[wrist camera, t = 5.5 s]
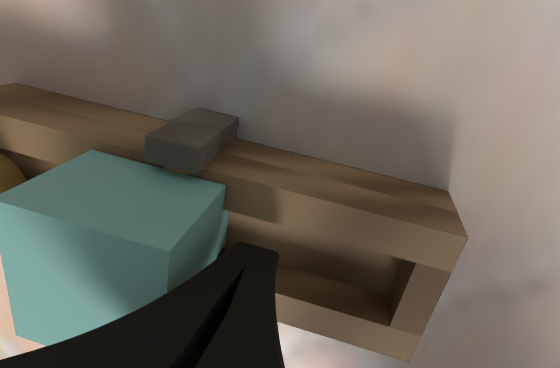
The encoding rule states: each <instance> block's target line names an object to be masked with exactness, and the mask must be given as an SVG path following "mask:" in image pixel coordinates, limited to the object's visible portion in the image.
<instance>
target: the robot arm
mask: <svg viewBox="0 0 560 368" xmlns="http://www.w3.org/2000/svg"><path fill="white" fill-rule="evenodd" d="M279 259H280V255H279V254H278V252H277V251H273V250H270V249H266V248H262V247H259V246H255V245H252V244H248V243H245V242H241V241H239V242H237V243H235V244H234V245H233V246H232V247H231V248H230V249H228V250H227V251H226V252H225V253H223V254H222V255H221V256H220V257H218V258H217V259H216V260H214V261H213V262H212V263H211V264H209V265H208V266H206V267H205V268H204V269H202V270H201V271H199V272H198V273H197V274H195V275H194V276H193V277H191V278H190V279H188V280H187V281H185V282H183V283H182V284H180V285H179V286H177V287H176V288H174V289H172V290H171V291H169V292H168V293H166V294H164V295H163V296H161V297H159V298H157V299H156V300H154V301H152V302H150V303H148V304H147V305H145V306H143V307H141V308H139V309H137V310H135V311H133V312H131V313H129V314H127V315H125V316H123V317H120V318H118V319H116V320H114V321H112V322H109V323H107V324H105V325H103V326H100V327H98V328H96V329H93V330H91V331H88V332H86V333H83V334H80V335H78V336H75V337H72V338H70V339H67V340H64V341H61V342H58V343H55V344H52V345H49V346H46V347H43V348H40V349H37V350H34V351H30V352H27V353H23V354H20V355H16V356H13V357H9V358H6V359H2V360H0V368H285V366H284V361H283V356H282V351H281V346H280V340H279V333H278V325H277V316H276V300H275V279H276V272H277V268H278V263H279Z"/></svg>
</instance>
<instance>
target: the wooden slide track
mask: <svg viewBox="0 0 560 368" xmlns="http://www.w3.org/2000/svg"><path fill="white" fill-rule="evenodd" d="M237 125H238V117H234V116H230V115H226V114H222V113H217V112H213V111H209V110H205V109H201V108H195V109H193V110H191V111H189V112H187V113H186V114H184V115H182V116H180V117H178V118H176V119H174V120H173V121H171V122H168V121H164V120H160V119H156V118H152V117H148V116H144V115H140V114H136V113H132V112H128V111H124V110H120V109H116V108H112V107H108V106H104V105H100V104H96V103H92V102H88V101H84V100H80V99H76V98H72V97H68V96H64V95H60V94H56V93H52V92H48V91H44V90H40V89H36V88H32V87H28V86H24V85H20V84H16V83H12V84H7V85H1V86H0V194H2V193H4V192H6V191H8V190H10V189H12V188H14V187H16V186H18V185H20V184H22V183H24V182H26V181H28V180H30V179H33V178H35V177H37V176H39V175H41V174H43V173H45V172H47V171H49V170H51V169H53V168H55V167H57V166H59V165H61V164H63V163H65V162H67V161H69V160H71V159H74V158H76V157H78V156H80V155H82V154H84V153H86V152H88V151H90V150H96V151H99V152H103V153H107V154H111V155H114V156H118V157H122V158H126V159H129V160H133V161H137V162H141V163H144V164H148V165H152V166H155V167H159V168H163V169H167V170H170V171H174V172H178V173H182V174H185V175H189V176H193V177H197V178H200V179H204V180H208V181H212V182H215V183H219V184H223V185H226V189H225V197H224V205H223V210H227V211H230V213H229V220H228V227H227V234H226V242H225V245H224V247H223V248H222V250H221V251H220V253H219V254H218V256H217V258H218V257H220V256H221V255H222V254H223V253H225V252H226V251H227V250H228V249H230V248H231V247H232V246H233V245H234V244H235V243H237V242H239V241H241V242H245V243H248V244H252V245H255V246H259V247H262V248H266V249H270V250H273V251H277V252H278V254H279V255H280V259H279V263H278V268H277V272H276V279H275V300H276V316H277V322H280V323H284V324H287V325H290V326H293V327H297V328H300V329H303V330H306V331H310V332H313V333H316V334H319V335H323V336H326V337H329V338H332V339H336V340H339V341H342V342H345V343H348V344H352V345H355V346H358V347H361V348H365V349H368V350H371V351H374V352H378V353H381V354H384V355H387V356H391V357H394V358H397V359H400V360H404V361H407V362H409V360H410V358H411V356H412V354H413V352H414V350H415V348H416V345H417V343H418V341H419V339H420V337H421V335H422V333H423V331H424V329H425V327H426V325H427V323H428V321H429V318H430V316H431V314H432V312H433V310H434V308H435V306H436V304H437V302H438V300H439V298H440V296H441V293H442V291H443V289H444V287H445V285H446V283H447V281H448V279H449V277H450V275H451V273H452V271H453V269H454V266H455V264H456V262H457V260H458V258H459V256H460V254H461V252H462V250H463V248H464V246H465V244H466V242H467V239H468V237H467V234H466V232H465V230H464V227H463V225H462V222H461V220H460V218H459V215H458V213H457V211H456V208H455V206H454V203H453V201H452V199H451V196H450V194H449V192H447V191H444V190H440V189H436V188H432V187H428V186H424V185H420V184H416V183H412V182H408V181H404V180H400V179H396V178H392V177H388V176H384V175H380V174H376V173H372V172H368V171H364V170H360V169H356V168H352V167H348V166H344V165H340V164H336V163H332V162H328V161H324V160H320V159H316V158H312V157H308V156H304V155H300V154H296V153H292V152H288V151H284V150H280V149H276V148H272V147H268V146H264V145H260V144H256V143H252V142H248V141H244V140H240V139H236V133H237Z"/></svg>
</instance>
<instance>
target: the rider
mask: <svg viewBox="0 0 560 368" xmlns="http://www.w3.org/2000/svg"><path fill="white" fill-rule="evenodd" d="M225 189H226V185H223V184H219V183H215V182H212V181H208V180H204V179H200V178H197V177H193V176H189V175H185V174H182V173H178V172H174V171H170V170H167V169H163V168H159V167H155V166H152V165H148V164H144V163H141V162H137V161H133V160H129V159H126V158H122V157H118V156H114V155H111V154H107V153H103V152H99V151H96V150H90V151H88V152H86V153H84V154H82V155H80V156H78V157H76V158H74V159H71V160H69V161H67V162H65V163H63V164H61V165H59V166H57V167H55V168H53V169H51V170H49V171H47V172H45V173H43V174H41V175H39V176H37V177H35V178H33V179H30V180H28V181H26V182H24V183H22V184H20V185H18V186H16V187H14V188H12V189H10V190H8V191H6V192H4V193H2V194H0V252H1V257H2V263H3V268H4V273H5V279H6V284H7V289H8V295H9V300H10V305H11V311H12V316H13V321H14V327H15V332H16V335H17V336H20V337H23V338H26V339H28V340H31V341H34V342H37V343H40V344H43V345H46V346H49V345H52V344H55V343H58V342H61V341H64V340H67V339H70V338H72V337H75V336H78V335H80V334H83V333H86V332H88V331H91V330H93V329H96V328H98V327H100V326H103V325H105V324H107V323H109V322H112V321H114V320H116V319H118V318H120V317H123V316H125V315H127V314H129V313H131V312H133V311H135V310H137V309H139V308H141V307H143V306H145V305H147V304H148V303H150V302H152V301H154V300H156V299H157V298H159V297H161V296H163V295H164V294H166V293H168V292H169V291H171V290H172V289H174V288H176V287H177V286H179V285H180V284H182V283H183V282H185V281H187V280H188V279H190V278H191V277H193V276H194V275H195V274H197V273H198V272H199V271H201V270H202V269H204V268H205V267H206V266H208V265H209V264H211V263H212V262H213V261H214V260H216V259H217V256H218V254H219V253H220V251H221V250H222V248H223V247H224V245H225V242H226V234H227V227H228V220H229V213H230V211H227V210H223V205H224V197H225Z"/></svg>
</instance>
